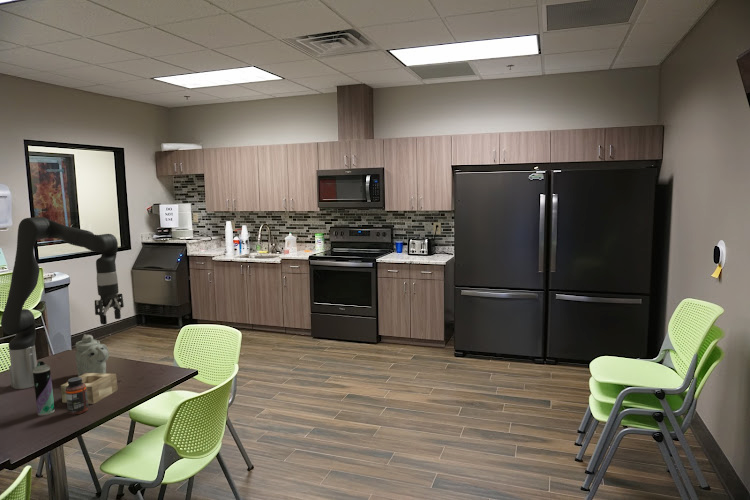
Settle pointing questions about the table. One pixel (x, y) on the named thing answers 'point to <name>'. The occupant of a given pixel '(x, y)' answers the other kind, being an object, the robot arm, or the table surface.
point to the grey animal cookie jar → (91, 356)
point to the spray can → (43, 389)
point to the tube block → (95, 386)
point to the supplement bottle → (76, 396)
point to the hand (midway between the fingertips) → (111, 321)
